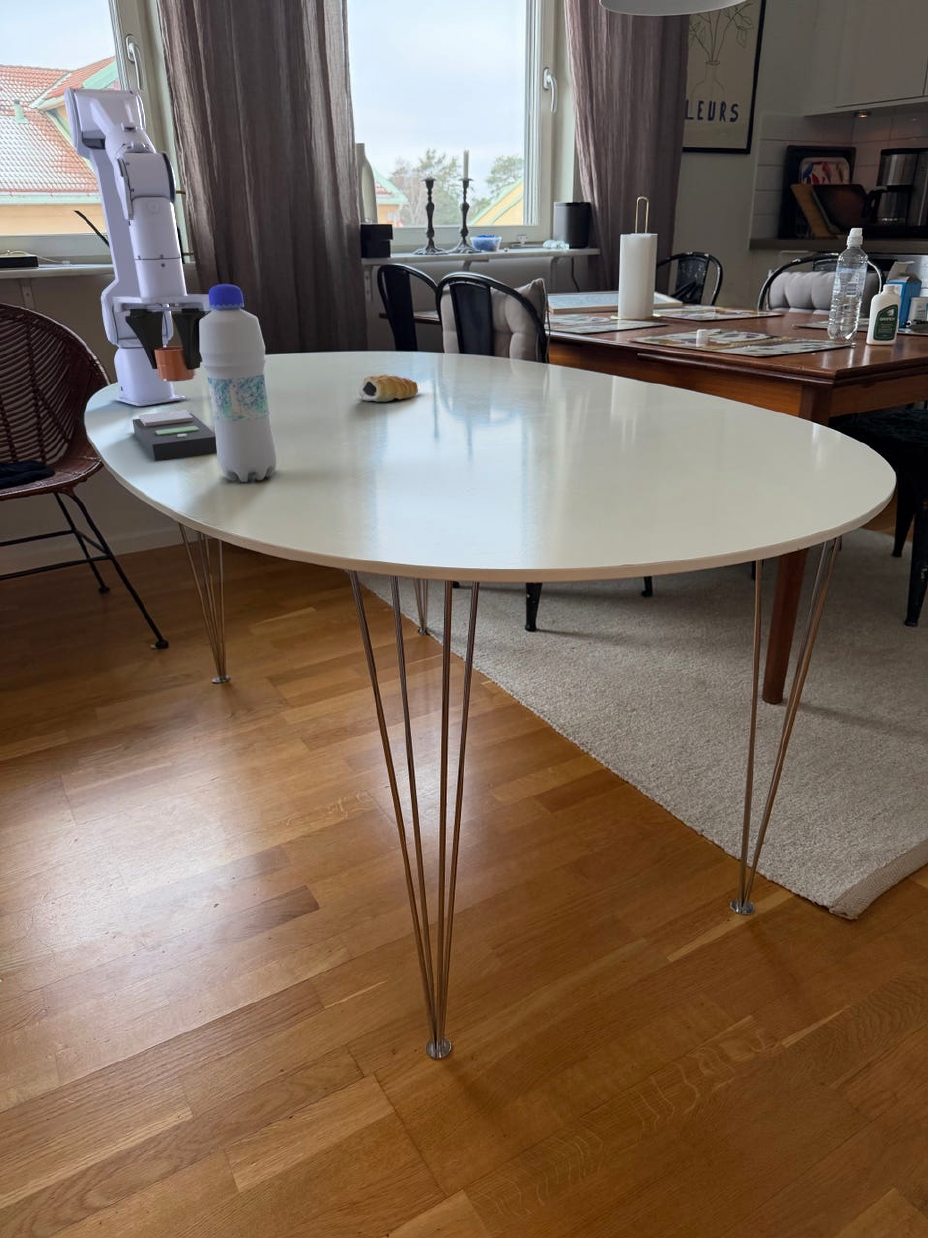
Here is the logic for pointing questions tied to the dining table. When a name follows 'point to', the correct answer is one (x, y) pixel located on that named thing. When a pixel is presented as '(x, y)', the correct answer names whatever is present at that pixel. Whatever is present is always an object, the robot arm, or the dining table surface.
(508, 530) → the dining table surface
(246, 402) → the bottle
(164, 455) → the scale
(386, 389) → the pastry
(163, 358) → the copper ridged cylinder
